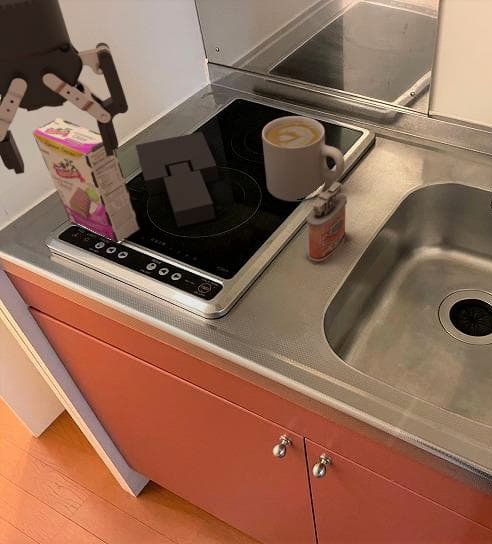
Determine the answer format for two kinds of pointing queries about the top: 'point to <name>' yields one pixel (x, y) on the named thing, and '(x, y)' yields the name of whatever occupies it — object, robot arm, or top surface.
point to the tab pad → (188, 195)
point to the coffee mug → (297, 157)
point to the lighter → (327, 225)
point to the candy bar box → (87, 179)
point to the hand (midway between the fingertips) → (65, 161)
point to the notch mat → (175, 159)
